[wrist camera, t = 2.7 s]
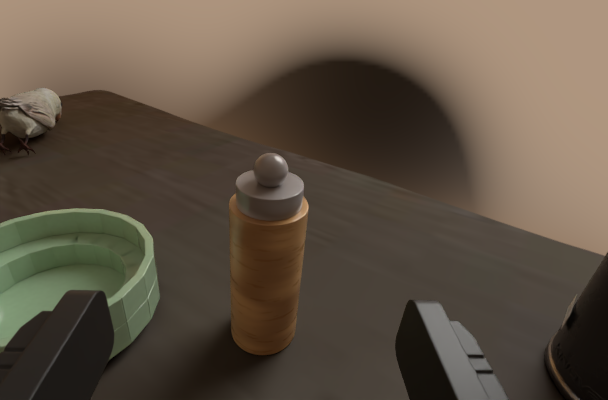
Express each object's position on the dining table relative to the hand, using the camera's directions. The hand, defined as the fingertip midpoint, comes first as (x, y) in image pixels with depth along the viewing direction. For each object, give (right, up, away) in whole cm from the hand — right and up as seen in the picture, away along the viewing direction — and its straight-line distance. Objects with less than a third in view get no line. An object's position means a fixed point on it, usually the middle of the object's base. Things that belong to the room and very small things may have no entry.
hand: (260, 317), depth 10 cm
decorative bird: (-39, +12, +45) cm, 60 cm away
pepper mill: (-2, -7, +18) cm, 19 cm away
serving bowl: (-17, -5, +17) cm, 25 cm away
